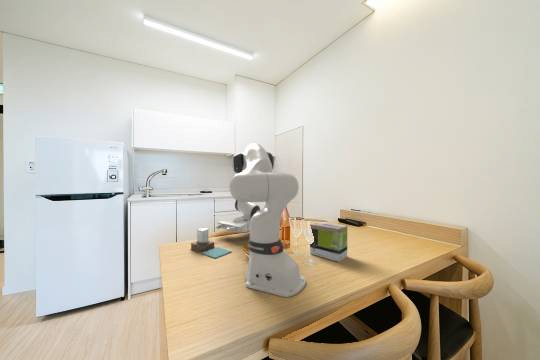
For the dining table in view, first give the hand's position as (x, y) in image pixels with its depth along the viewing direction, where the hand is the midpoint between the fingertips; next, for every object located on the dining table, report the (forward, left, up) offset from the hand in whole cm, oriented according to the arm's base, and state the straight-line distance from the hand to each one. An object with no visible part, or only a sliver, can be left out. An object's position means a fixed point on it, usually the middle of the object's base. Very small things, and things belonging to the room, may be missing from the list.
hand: (222, 228), depth 116 cm
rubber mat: (-11, +13, -8) cm, 19 cm away
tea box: (-56, -17, -8) cm, 59 cm away
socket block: (0, +13, -8) cm, 15 cm away
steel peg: (0, +13, -8) cm, 15 cm away
